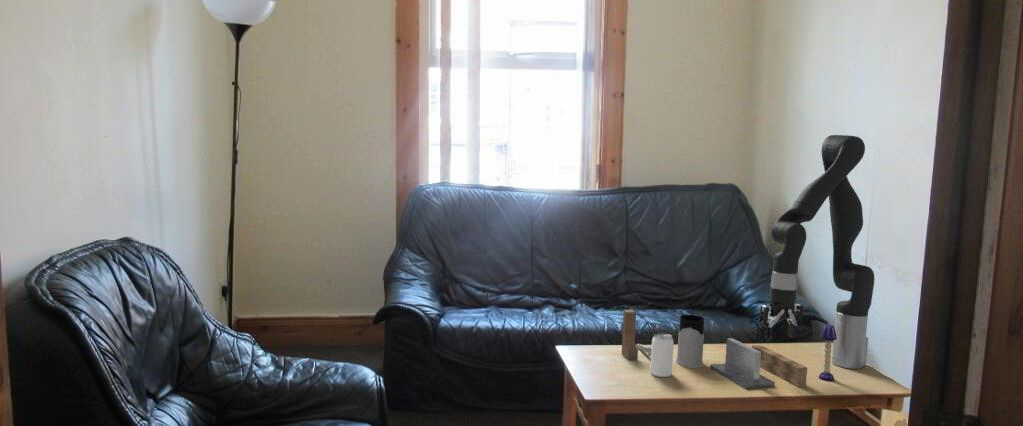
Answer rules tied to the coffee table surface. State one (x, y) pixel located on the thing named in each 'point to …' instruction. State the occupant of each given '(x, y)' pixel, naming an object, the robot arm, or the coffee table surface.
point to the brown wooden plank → (782, 366)
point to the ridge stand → (742, 366)
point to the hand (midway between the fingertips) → (779, 338)
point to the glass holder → (690, 341)
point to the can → (662, 355)
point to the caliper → (644, 348)
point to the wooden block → (629, 335)
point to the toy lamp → (827, 350)
